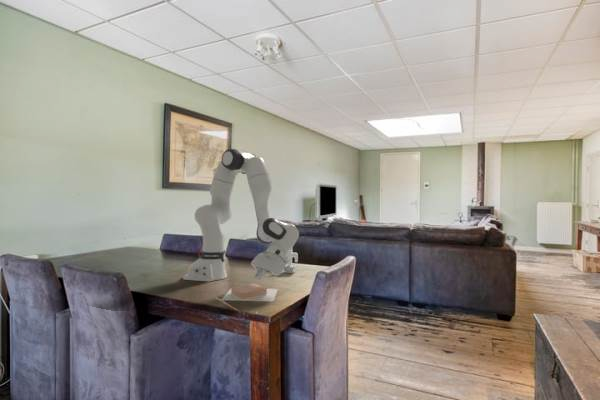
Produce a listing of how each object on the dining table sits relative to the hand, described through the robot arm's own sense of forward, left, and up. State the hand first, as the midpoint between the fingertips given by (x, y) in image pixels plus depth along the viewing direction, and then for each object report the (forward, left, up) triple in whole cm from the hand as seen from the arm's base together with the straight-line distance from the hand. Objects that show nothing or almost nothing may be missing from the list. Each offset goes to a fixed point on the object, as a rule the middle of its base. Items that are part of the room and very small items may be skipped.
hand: (256, 278), depth 147 cm
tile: (+2, +1, -5) cm, 6 cm away
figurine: (+12, +43, -8) cm, 46 cm away
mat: (-2, -2, -7) cm, 8 cm away
